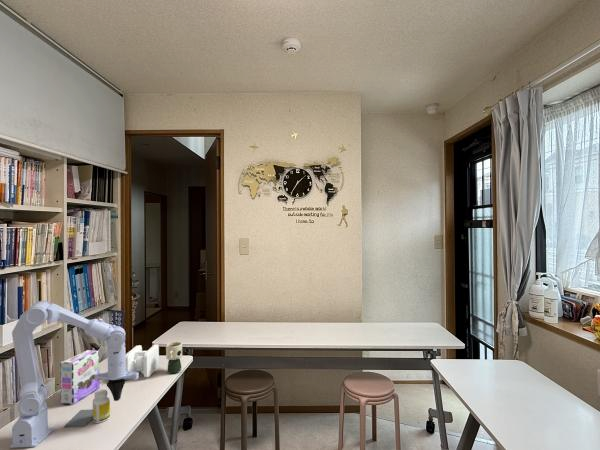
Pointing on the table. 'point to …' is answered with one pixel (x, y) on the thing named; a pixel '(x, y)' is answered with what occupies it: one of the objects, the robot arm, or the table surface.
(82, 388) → the candy box
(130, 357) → the cable organizer
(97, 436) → the table surface
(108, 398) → the supplement bottle
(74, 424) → the mat
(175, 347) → the character mug
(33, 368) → the robot arm
